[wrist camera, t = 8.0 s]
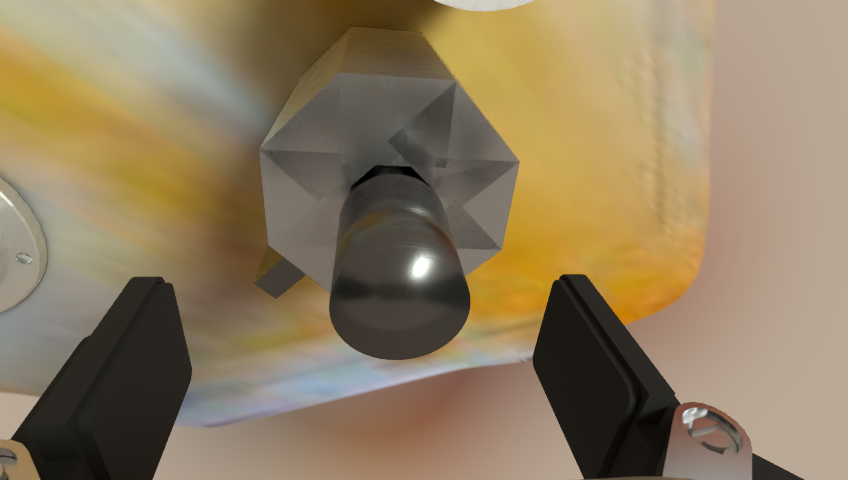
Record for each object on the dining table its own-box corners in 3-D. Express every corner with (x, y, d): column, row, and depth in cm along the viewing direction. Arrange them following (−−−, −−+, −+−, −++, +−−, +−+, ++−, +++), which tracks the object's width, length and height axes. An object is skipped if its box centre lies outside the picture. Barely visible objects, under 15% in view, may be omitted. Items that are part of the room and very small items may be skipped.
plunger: (381, 159, 28) (395, 379, 13) (338, 114, 26) (298, 308, 11) (427, 119, 27) (497, 309, 12) (385, 70, 25) (407, 221, 11)
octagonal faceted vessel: (348, 234, 31) (338, 368, 21) (238, 137, 27) (159, 245, 17) (488, 118, 28) (557, 209, 18) (388, -11, 24) (402, 11, 14)
